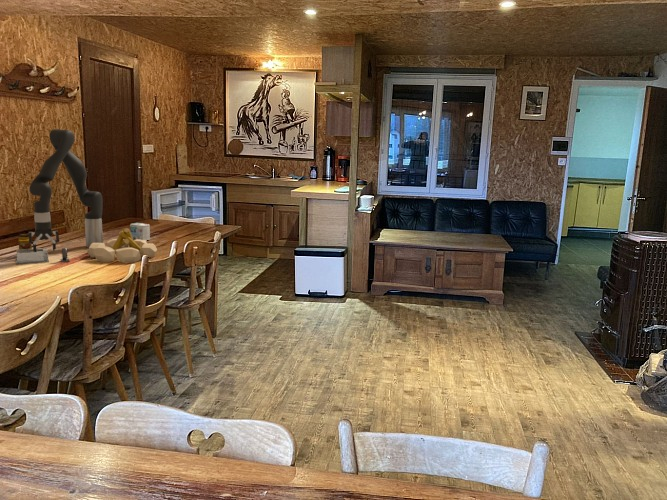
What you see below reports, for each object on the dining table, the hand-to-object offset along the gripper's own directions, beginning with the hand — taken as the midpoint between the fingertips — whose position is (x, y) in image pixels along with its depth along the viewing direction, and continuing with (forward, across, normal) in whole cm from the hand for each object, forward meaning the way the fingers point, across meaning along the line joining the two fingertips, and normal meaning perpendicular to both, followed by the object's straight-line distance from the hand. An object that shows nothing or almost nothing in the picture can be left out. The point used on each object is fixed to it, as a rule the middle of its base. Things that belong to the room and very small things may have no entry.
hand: (44, 250), depth 289 cm
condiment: (+5, -9, +14) cm, 17 cm away
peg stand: (+5, +9, -7) cm, 12 cm away
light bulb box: (+6, +57, +41) cm, 70 cm away
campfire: (+6, +38, -4) cm, 39 cm away
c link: (+4, -6, 0) cm, 8 cm away
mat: (+5, -6, 0) cm, 8 cm away
